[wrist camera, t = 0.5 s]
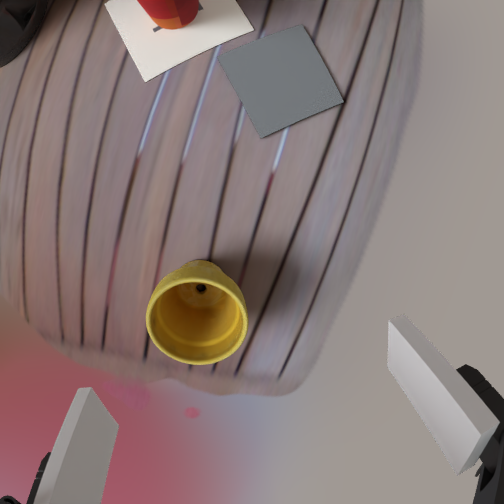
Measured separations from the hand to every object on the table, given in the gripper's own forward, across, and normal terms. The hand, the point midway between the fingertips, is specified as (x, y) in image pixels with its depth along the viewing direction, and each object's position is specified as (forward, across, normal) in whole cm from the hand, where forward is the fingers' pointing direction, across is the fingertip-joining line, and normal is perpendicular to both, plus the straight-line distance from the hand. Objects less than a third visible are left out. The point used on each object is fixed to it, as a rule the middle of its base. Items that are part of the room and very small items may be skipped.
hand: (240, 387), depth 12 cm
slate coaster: (+27, +10, +15) cm, 32 cm away
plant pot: (+27, -5, -7) cm, 28 cm away
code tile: (+27, 0, +27) cm, 38 cm away
